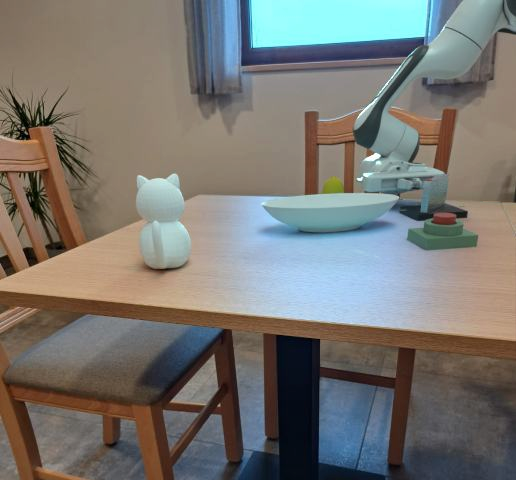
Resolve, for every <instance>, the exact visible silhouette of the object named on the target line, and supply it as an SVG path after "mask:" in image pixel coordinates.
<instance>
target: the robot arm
mask: <svg viewBox="0 0 516 480" xmlns="http://www.w3.org/2000/svg"><path fill="white" fill-rule="evenodd" d="M497 32H498V33H503V34H509V35H510V34H511V35H515V36H516V0H462V1H461V2H460V4H458V6H457V7H456V9H455V10H454V11H453V13H452V14H451V16H450V17H449V18H448V20H447V21H446V23H445V25H444V26H443V28H442V30H441V31H440V32H439V34H438V35H437V36H436V37H434V39H433V40H431V42H429V43H428V44H421V45H419V46H418V47H417V48H415V49H414V50H413V51H412V52H411V53H410V54H409V55H408V56H407V57H406V59H404V61H403V62H402V63H401V64H400V66H399V67H398V68H397V69H396V71H394V73H393V74H392V76H391V77H390V78H389V80H388V81H387V82H386V83H385V84H384V86H383V87H382V88H381V90H379V92H378V93H377V95H375V97H374V98H373V99H372V101H371V102H369V104H368V105H366V106H365V108H364V109H363V110H362V111H361V112H360V114H359V115H358V116H357V118H356V119H355V121H354V123H353V125H352V134H353V138H354V141H355V144H356V145H358V146H360V147H362V148H365V149H367V150H369V151H372V152H373V154H372V155H370V156H367V157H366V158H365V159H363V160H362V162H360V165H359V169H358V173H359V178H356V180H355V182H356V183H357V184H361V186H360V187H361V189H362V190H363V191H364V192H366V193H376V192H377V193H380V194H390V195H396V196H398V195H400V194H405V193H408V192H413V191H419V190H421V191H422V190H423V186H424V181H425V179H430V178H433V177H436V176H438V175H441V174H446V173H445V171H442V170H440V169H438V168H435V167H431V166H427V163H424V162H414V161H415V159H416V157H417V156H418V153H419V151H420V144H421V139H420V138H421V137H420V133H419V131H418V130H417V129H415V128H414V127H412V126H411V125H409V124H407V123H405V122H403V121H402V120H400V119H398V118H397V117H396V116H394V115H392V114H391V113H390V112H389V111H390V109H391V108H392V107H393V105H394V104H395V103H396V101H398V99H399V98H400V97H401V96H402V94H404V92H405V91H406V89H407V88H408V87H409V86H410V84H412V83H413V82H414V81H416V80H418V79H422V78H430V79H436V80H437V79H438V80H453V79H457V78H460V77H462V76H463V75H464V74H465V75H466V74H467V73H468V72H469V71H470V69H472V67H473V66H474V64H475V63H476V61H477V60H478V59H479V57H480V56H481V54H482V53H483V51H484V50H485V48H486V46H487V45H488V43H489V42H490V41H491V39H492V38H493V37H494V35H495V34H496V33H497Z"/></svg>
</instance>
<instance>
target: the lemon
mask: <svg viewBox="0 0 516 480" xmlns="http://www.w3.org/2000/svg"><path fill="white" fill-rule="evenodd" d="M337 193H345V187H344V183H343V181H342V180H341V179H340V178H338V177H336V176H335V175H332V176H331V177H330V178H328V179H327V180H325V182H324V184H323V186H322V192H321V194H337Z"/></svg>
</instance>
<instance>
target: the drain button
mask: <svg viewBox="0 0 516 480" xmlns="http://www.w3.org/2000/svg"><path fill="white" fill-rule="evenodd" d="M456 220H457V218H456V215H455V214H452V213H435V214H434V215H433V223H434V224H439V225H454V224H455V221H456Z"/></svg>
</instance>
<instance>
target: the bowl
mask: <svg viewBox="0 0 516 480" xmlns="http://www.w3.org/2000/svg"><path fill="white" fill-rule="evenodd" d="M399 200H400V196H398V195H390V194H383V193H379V192H377V193H376V192H353V193H352V192H344V193H337V194H322V193H320V194H319V193H318V194H306V195H295V196H287V197H279V198H278V197H277V198H272V199H268V200H265V201H262V202H261V206H262V208H263V209H264V210H265V211H266V212H267V213H268V214H269V215H270V216H271V218H273V219H274V220H276V221H278V222H280V223H282V224H285V225H286V226H290V227H293V228H296V229H298V231H300V232H306V233H339V232H346V231H353V230H357V229H360V228H361V227H362V226H363V225H365V224H369V223H371V222H374V221H375V220H377V219H379V218H380V217H382V216H384V215H385V214H387V213H388V212H389V211H390V210H391V209H392V208H393V207H394V206H395V205H396V203H398V201H399Z"/></svg>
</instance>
